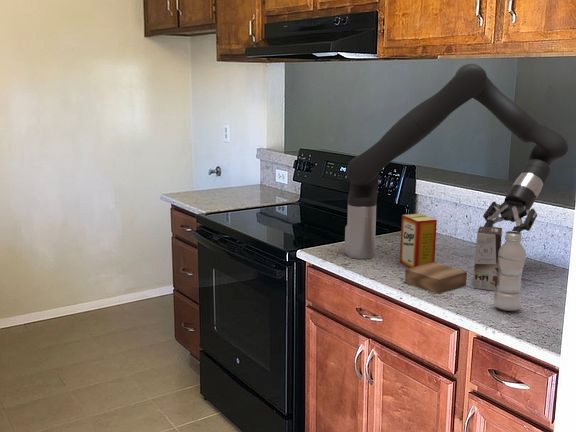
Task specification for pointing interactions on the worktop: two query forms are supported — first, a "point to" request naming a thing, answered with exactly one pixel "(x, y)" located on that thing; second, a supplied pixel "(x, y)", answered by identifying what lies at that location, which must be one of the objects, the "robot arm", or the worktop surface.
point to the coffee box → (487, 258)
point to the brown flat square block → (435, 277)
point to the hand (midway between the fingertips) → (497, 236)
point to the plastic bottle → (510, 273)
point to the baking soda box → (417, 240)
